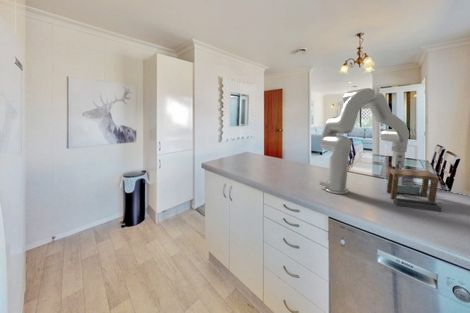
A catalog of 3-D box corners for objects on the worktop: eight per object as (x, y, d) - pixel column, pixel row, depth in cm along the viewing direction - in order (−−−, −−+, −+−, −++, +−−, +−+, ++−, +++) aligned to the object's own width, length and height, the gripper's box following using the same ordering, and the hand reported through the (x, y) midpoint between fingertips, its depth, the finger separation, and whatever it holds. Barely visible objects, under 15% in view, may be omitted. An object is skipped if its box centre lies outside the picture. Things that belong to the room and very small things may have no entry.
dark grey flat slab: (396, 205, 102) (396, 201, 101) (393, 201, 107) (394, 197, 107) (440, 211, 95) (441, 207, 94) (435, 206, 100) (435, 202, 100)
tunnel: (391, 199, 109) (394, 173, 107) (386, 191, 121) (389, 168, 119) (434, 204, 102) (438, 177, 100) (425, 195, 114) (428, 171, 111)
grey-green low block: (392, 191, 120) (393, 179, 119) (384, 180, 142) (385, 169, 141) (419, 194, 115) (420, 182, 113) (406, 182, 137) (407, 171, 136)
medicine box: (400, 192, 119) (402, 177, 118) (393, 190, 124) (395, 175, 122) (412, 191, 121) (414, 176, 119) (404, 188, 125) (406, 174, 124)
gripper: (410, 151, 126) (406, 179, 128) (402, 148, 141) (399, 173, 144) (394, 150, 129) (391, 178, 132) (389, 147, 144) (385, 172, 147)
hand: (395, 175), depth 138 cm, fingers open, 9 cm apart
